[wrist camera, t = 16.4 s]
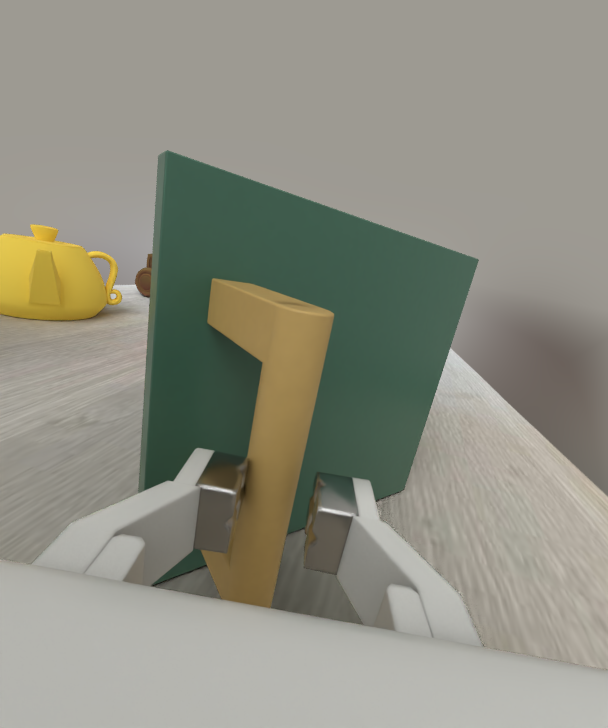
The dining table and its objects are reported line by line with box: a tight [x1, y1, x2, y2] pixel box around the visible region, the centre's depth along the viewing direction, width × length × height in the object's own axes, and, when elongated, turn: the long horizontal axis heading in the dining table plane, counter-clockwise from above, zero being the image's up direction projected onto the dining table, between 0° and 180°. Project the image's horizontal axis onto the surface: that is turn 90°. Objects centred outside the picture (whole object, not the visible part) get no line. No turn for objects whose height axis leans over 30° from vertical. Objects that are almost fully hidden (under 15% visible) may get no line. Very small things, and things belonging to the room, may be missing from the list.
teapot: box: [0, 225, 122, 320], centre depth 51 cm, size 20×19×13 cm
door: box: [138, 150, 479, 608], centre depth 15 cm, size 6×18×17 cm, turn 125°
